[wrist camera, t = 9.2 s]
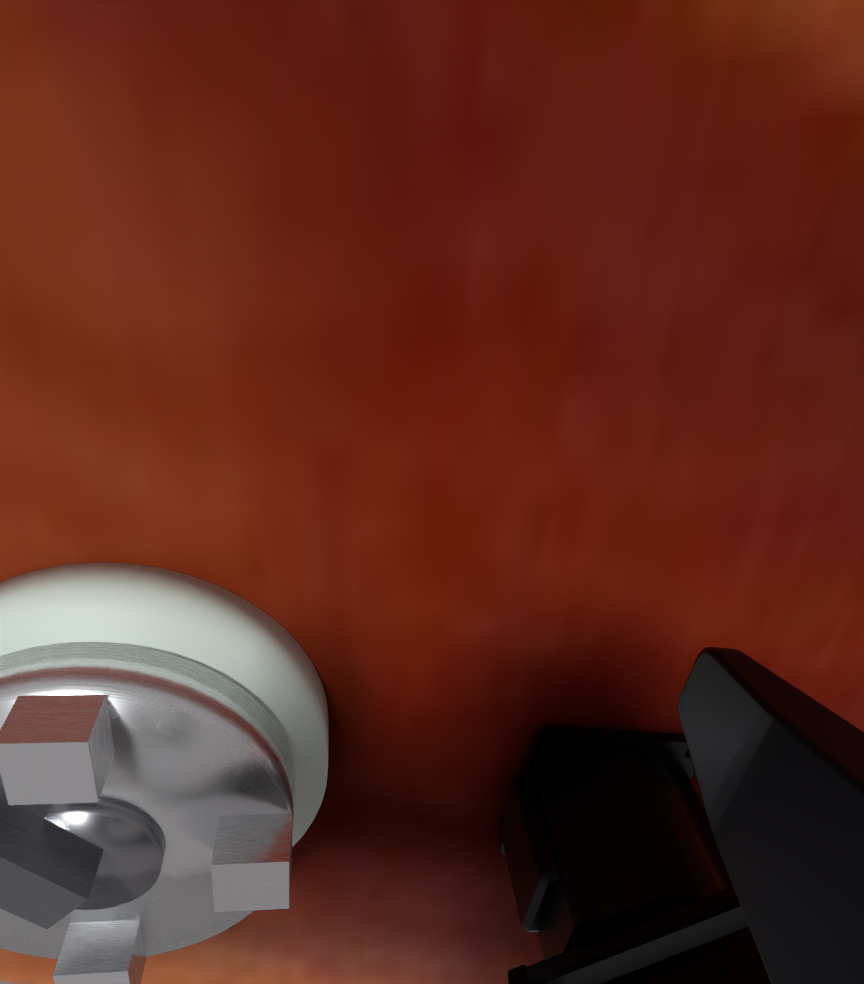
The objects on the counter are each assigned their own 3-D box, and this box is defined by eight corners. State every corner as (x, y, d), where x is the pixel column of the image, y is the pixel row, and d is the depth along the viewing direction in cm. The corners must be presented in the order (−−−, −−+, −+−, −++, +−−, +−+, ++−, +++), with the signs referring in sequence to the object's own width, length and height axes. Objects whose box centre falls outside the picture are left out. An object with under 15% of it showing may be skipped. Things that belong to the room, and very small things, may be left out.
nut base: (353, 583, 22) (354, 629, 20) (306, 859, 28) (304, 915, 26) (-122, 541, 20) (-171, 589, 18) (-66, 853, 26) (-98, 913, 24)
